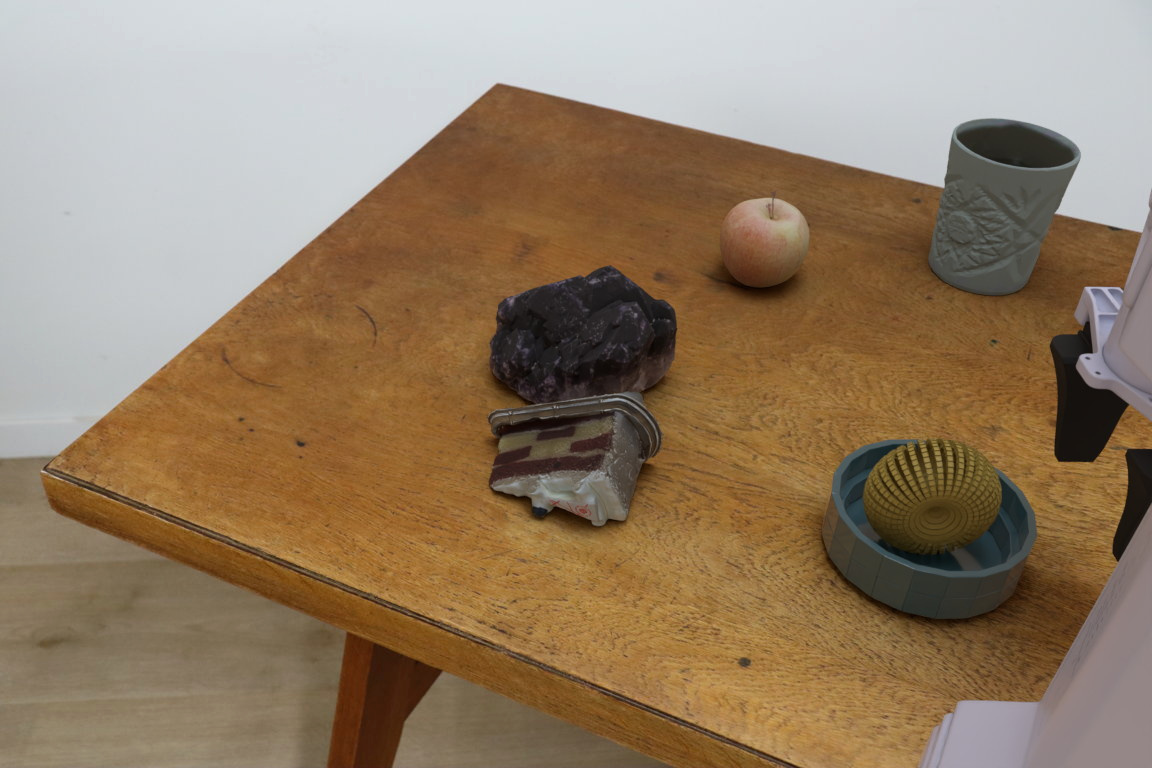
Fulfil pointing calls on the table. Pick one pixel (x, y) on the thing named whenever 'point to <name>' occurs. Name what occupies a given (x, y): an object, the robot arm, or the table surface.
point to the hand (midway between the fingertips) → (1102, 505)
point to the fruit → (764, 241)
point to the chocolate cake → (575, 453)
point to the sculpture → (932, 496)
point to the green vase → (998, 203)
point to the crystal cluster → (583, 338)
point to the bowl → (926, 580)
